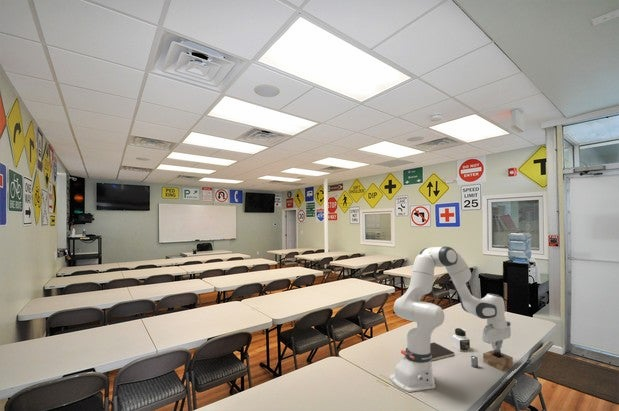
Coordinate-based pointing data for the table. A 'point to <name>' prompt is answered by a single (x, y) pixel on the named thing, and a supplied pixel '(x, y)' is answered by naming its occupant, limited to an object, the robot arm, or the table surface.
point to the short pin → (474, 361)
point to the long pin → (497, 350)
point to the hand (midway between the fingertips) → (497, 348)
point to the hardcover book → (439, 351)
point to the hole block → (498, 360)
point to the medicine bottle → (460, 340)
